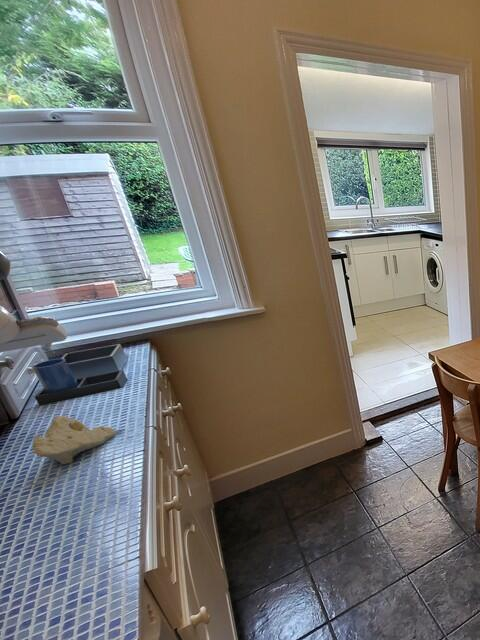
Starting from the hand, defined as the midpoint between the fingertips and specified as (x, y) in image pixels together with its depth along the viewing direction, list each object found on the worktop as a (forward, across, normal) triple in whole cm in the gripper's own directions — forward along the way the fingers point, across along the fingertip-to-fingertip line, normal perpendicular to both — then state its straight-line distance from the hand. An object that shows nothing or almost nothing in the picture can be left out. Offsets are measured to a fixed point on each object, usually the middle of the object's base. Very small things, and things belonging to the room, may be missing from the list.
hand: (22, 353), depth 106 cm
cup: (+21, 0, +4) cm, 21 cm away
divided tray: (+21, -5, +4) cm, 22 cm away
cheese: (-12, -9, +38) cm, 40 cm away
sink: (+36, -5, -10) cm, 37 cm away
